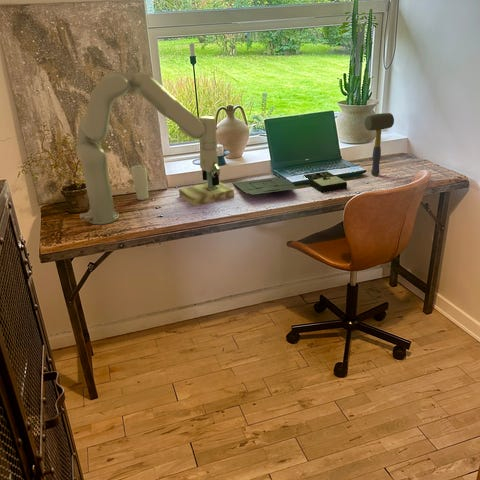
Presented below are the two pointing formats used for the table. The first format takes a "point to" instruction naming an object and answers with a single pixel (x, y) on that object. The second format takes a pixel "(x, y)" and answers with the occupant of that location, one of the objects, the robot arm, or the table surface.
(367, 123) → the rubber mallet
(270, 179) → the dark green panel
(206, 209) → the table surface
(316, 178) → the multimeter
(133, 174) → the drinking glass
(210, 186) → the dowel
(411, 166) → the table surface
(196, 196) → the olive green slab
